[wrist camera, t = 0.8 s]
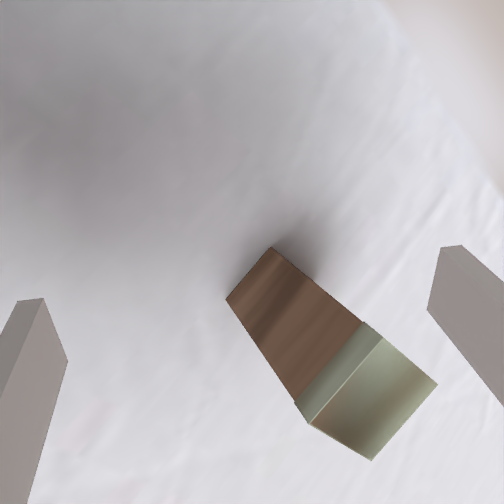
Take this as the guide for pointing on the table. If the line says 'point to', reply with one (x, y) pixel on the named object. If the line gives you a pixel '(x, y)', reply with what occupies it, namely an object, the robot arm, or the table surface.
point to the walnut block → (328, 357)
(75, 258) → the table surface
